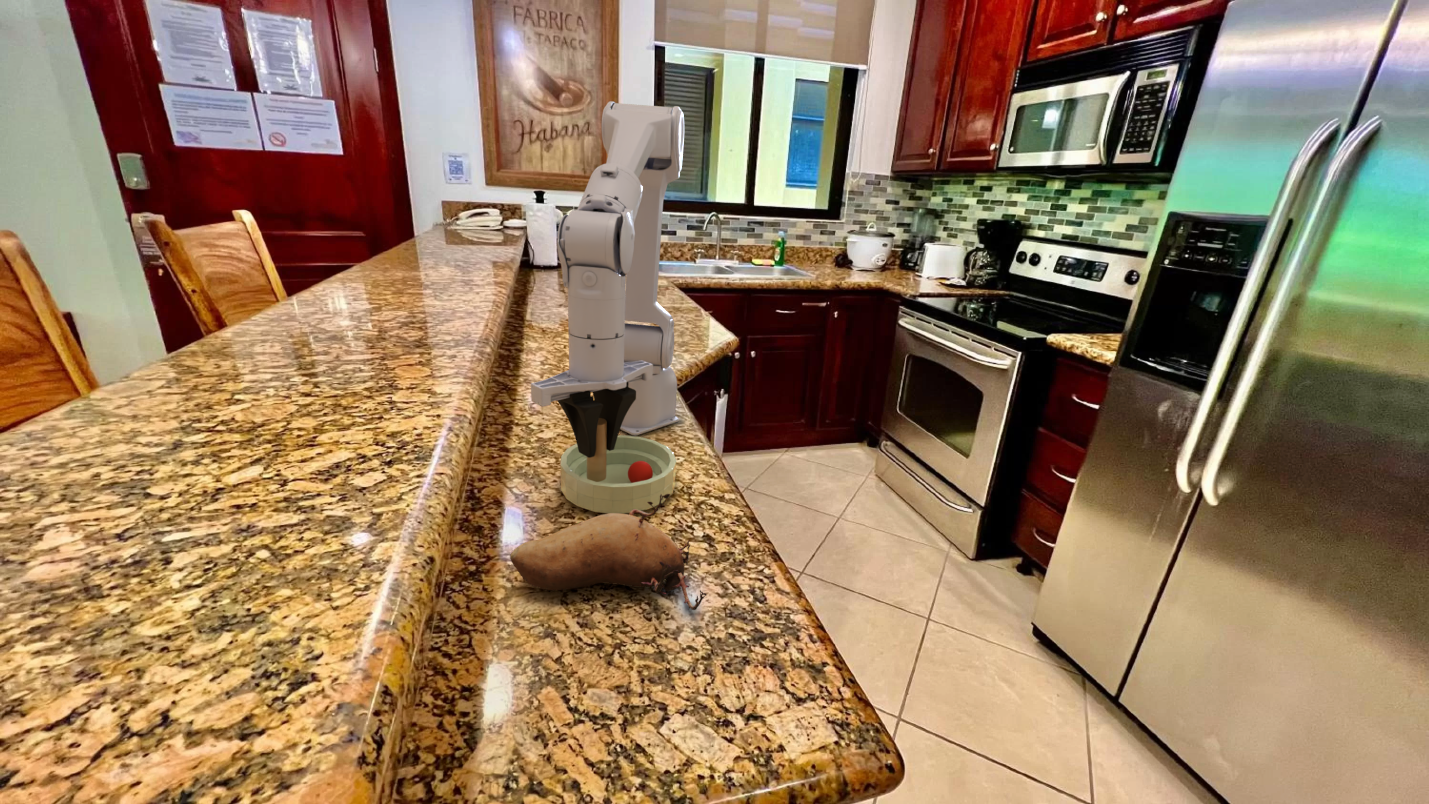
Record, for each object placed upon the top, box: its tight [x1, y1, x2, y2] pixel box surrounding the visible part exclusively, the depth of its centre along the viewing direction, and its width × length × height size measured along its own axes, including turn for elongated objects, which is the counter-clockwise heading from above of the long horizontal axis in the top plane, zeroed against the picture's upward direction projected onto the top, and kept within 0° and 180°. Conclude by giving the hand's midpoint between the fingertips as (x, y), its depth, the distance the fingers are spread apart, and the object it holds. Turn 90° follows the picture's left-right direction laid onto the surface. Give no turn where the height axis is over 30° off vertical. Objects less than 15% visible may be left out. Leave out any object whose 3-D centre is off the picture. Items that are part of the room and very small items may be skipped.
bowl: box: [559, 434, 677, 514], centre depth 66 cm, size 13×13×4 cm
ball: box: [628, 461, 653, 483], centre depth 66 cm, size 3×3×3 cm
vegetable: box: [509, 494, 708, 611], centre depth 48 cm, size 16×11×10 cm
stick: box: [587, 418, 607, 482], centre depth 62 cm, size 2×2×7 cm
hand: (596, 450), depth 62 cm, fingers closed on stick, 2 cm apart
